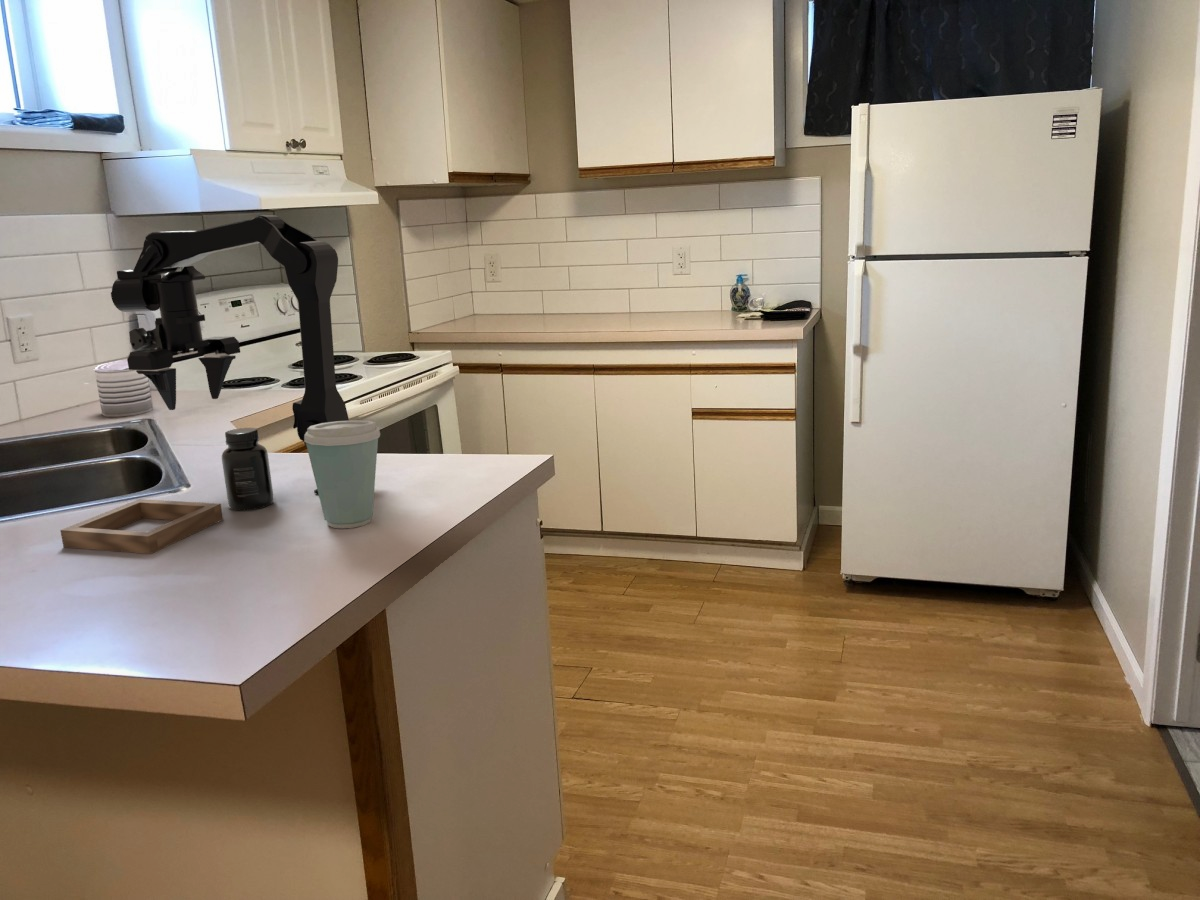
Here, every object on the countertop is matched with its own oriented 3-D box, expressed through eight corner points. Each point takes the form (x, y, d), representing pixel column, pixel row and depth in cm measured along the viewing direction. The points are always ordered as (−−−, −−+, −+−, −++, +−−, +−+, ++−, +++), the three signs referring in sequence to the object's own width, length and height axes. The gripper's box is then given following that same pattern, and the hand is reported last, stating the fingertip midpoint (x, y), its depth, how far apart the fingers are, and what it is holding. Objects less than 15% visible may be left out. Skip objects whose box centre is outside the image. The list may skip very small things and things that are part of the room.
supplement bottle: (283, 499, 156) (274, 426, 153) (255, 512, 149) (245, 436, 146) (247, 497, 158) (237, 425, 155) (218, 510, 152) (208, 434, 149)
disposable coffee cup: (309, 518, 145) (297, 419, 142) (381, 506, 149) (371, 410, 146) (319, 538, 136) (306, 433, 132) (396, 525, 140) (386, 423, 136)
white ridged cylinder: (163, 409, 238) (155, 360, 235) (119, 418, 229) (111, 367, 226) (135, 405, 244) (127, 358, 241) (91, 414, 235) (83, 365, 232)
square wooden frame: (223, 519, 146) (220, 503, 146) (150, 553, 133) (147, 536, 132) (141, 514, 151) (139, 499, 150) (63, 547, 137) (60, 530, 136)
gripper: (187, 304, 171) (201, 392, 174) (95, 317, 154) (112, 414, 158) (235, 303, 166) (248, 394, 170) (145, 316, 150) (162, 416, 153)
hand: (194, 404), depth 163 cm, fingers open, 9 cm apart
